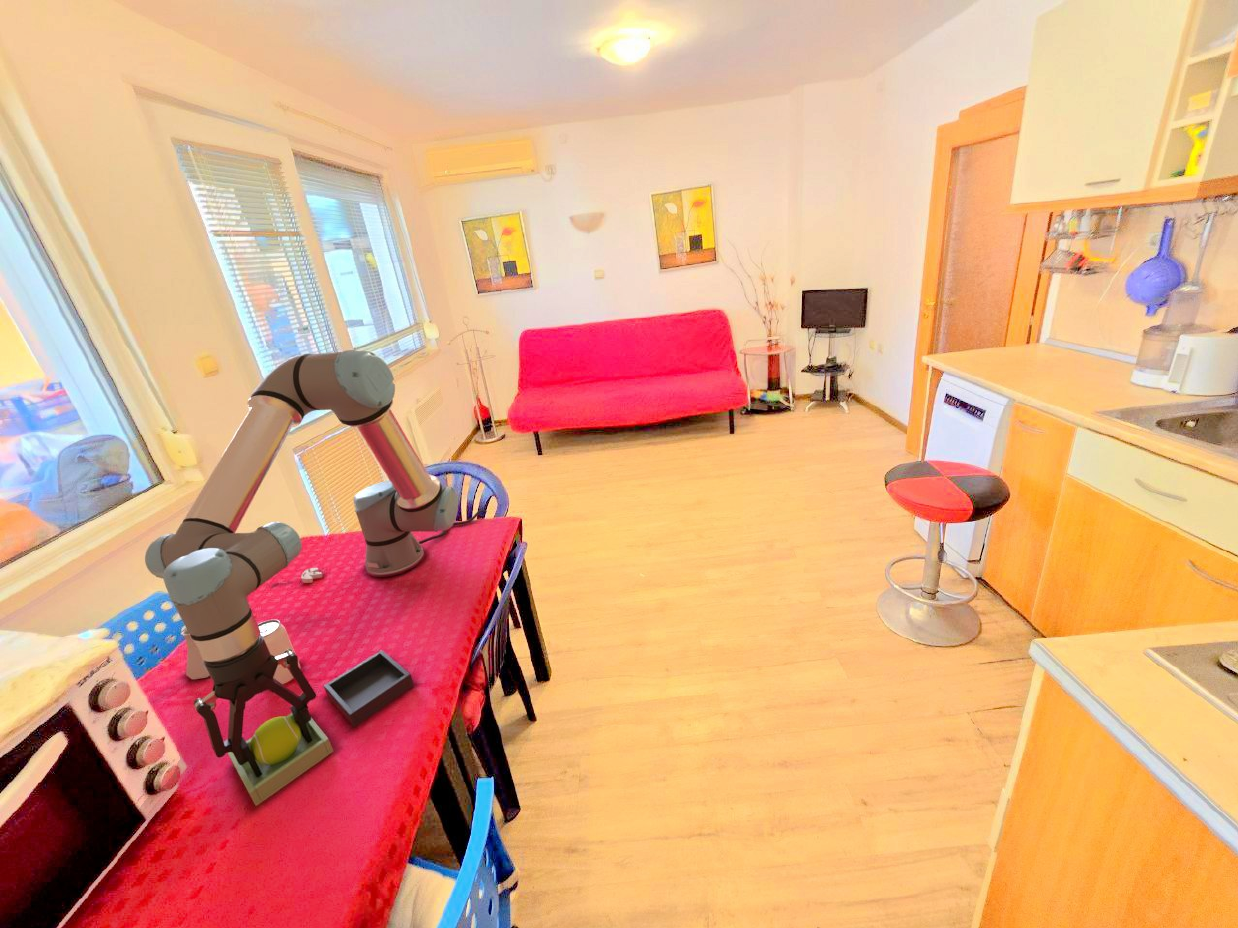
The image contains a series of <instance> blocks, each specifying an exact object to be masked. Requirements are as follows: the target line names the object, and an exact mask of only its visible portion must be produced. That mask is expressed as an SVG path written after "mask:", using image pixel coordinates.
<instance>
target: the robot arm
mask: <svg viewBox="0 0 1238 928" xmlns="http://www.w3.org/2000/svg"><path fill="white" fill-rule="evenodd" d="M394 380H395V379H394V375H393V373H392V370H391V368H390V366H389V364H387V362H386V361H385V360H384V359H383V358H382V357H381V356H379V355H378V354H376V353H374V352H372V351H368V350H355V349H348V350H342V351H334V352H319V353H301V354H297V355H294V356H292V357H289V358H288V359H286V360H284V361H282V362H281V363H279V364H278V365H277V366H276V367H275V368H274V369H272V370H271V371H270V372H269V373H267V375H266V376H265V377H263V379H262V380H261V382H260V383H259V384H257V386H256V388H255V389H254V391H253V392H252V394H251V395H250V397H249V398H248V400H247V407H248V409H249V410H248V412H247V414H246V415H245V417H244V419H243V420H242V422H241V424H240V426H239V427H238V428H237V430H236V432H235V433H234V436H233V437H232V438H231V441H230V442H229V443H228V445H227V447H226V449H225V450H224V451H223V454H222V455H221V457H220V459H219V460H218V462H217V464H216V465H215V467H214V468H213V471H212V472H211V473H210V475H209V477H208V479H207V480H206V482H205V484H204V485H203V487H202V488H201V490H200V492H199V493H198V495H197V497H196V498H195V500H194V501H193V503H192V505H191V507H190V508H189V510H188V512H187V513H186V514H185V516H184V518H183V520H182V522H181V524H180V525H179V527H178V528H177V529H176V531H175V532H173V533H169V534H164V535H161V536H159V537H158V538H156V539H155V540H153V541H152V542H151V543H150V544H149V545H148V547H147V549H146V552H145V556H144V563H145V566H146V568H147V570H148V572H150V574H151V575H153V576H155V577H156V578H159V579H163V583H164V586H165V588H166V591H167V593H168V597H169V600H170V602H171V604H173V606H174V607H175V610H176V611H177V614H178V615H179V617H180V619H181V621H182V622H183V624H184V627H185V629H187V630H188V632H189V634H190V636H191V638H192V641H193V643H194V645H195V647H196V649H197V651H198V653H199V655H200V657H201V659H203V660H204V665H205V667H206V669H207V671H208V673H209V675H210V676H209V677H210V679H211V681H212V683H213V686H212V691H211V692H210V693H208V694H207V695H205V696H204V697H203V698H202V697H198V698H196V699H195V700H194V701H193V702H192V703H193V706H194V708H195V710H196V713H197V714H198V715H200V716H201V717H202V718H203V722H204V725H205V729H206V732H207V734H208V738H209V742H210V745H211V748H212V750H213V752H214V754H215V756H216V757H217V758H223V757H224V756H225V755H226V754H228V753H229V752H232V753H233V754H234V756H235V758H236V760H237V762H238V764H240V765H243V764H244V763H246V762H249V764H250V766H251V768H252V770H253V772H254V773H255V775H256V777H257V778H258V777H259V776H261V775H262V773H261V771H260V769H259V767H258V765H257V762H256V760H255V758H254V756H253V754H252V752H251V750H250V748H249V746H248V745H247V743H246V741H247V740H246V739H245V738H244V736H243V728H244V715H245V714H244V713H245V710H246V702H248V701H250V700H251V699H253V698H254V697H255V696H256V695H259V694H261V693H264V692H265V691H267V690H268V691H270V693H274V694H275V695H277V696H278V697H280V698H281V699H283V700H284V701H285V702H287V703H288V704H290V705H292V706H290V707H289V709H290V712H291V713H292V714H293V716H294V718H295V721H296V722H297V723H298V724H299V726H300V729H301V734H302V736H303V737H304V739H305V740H306V741H307V743H309V742H311V741H312V738H311V735H310V733H309V731H308V728H307V726H306V723H307V722H309V721H310V720H311V718H312V716H311V713H310V711H309V706H308V704H309V702H310V701H314V700H315V699H316V698H317V694H316V692H315V690H314V689H313V687H312V686H311V683H310V682H309V680H308V679H307V678H306V676H305V674H304V673H303V671H302V669H301V668H299V667H298V661H299V657H298V655H297V654H295V653H296V652H295V653H294V652H293V651H292V650H291V649H288V650H286V651H285V652H284V654H283V655H280V656H277V657H274V656H273V655H271V654H270V652H269V650H268V647H267V645H266V643H265V641H264V638H263V636H262V635H261V634H260V633H261V632H260V629H259V627H258V624H259V623H258V622H257V620H256V618H255V615H254V613H253V612H252V611H253V610H252V608H251V605H250V603H249V600H248V596H249V595H251V594H252V593H254V592H255V591H256V590H257V589H259V588H260V587H261V586H263V585H264V584H265V583H267V582H268V581H269V580H270V579H272V578H273V577H274V576H276V575H277V574H278V573H281V572H282V571H283V570H284V569H287V567H288V566H289V565H290V563H292V562H293V561H294V560H295V559H296V558H297V557H298V556H300V554H301V551H302V548H303V547H302V546H303V544H302V541H301V537H300V535H299V533H298V531H296V530H295V529H294V528H293V527H292V526H291V525H289V524H287V523H285V522H281V521H272V522H268V523H266V524H265V525H263V526H258V527H257V529H256V530H254V531H251V532H237V530H238V528H239V527H240V525H241V523H242V521H243V519H244V518H245V516H246V514H247V512H248V510H249V508H250V506H251V504H252V502H253V501H254V499H255V497H256V495H257V493H258V492H259V490H260V488H261V486H262V484H263V482H264V480H265V479H266V476H267V474H268V473H269V471H270V469H271V467H272V465H273V463H274V461H275V459H276V457H277V456H278V454H279V452H280V450H281V449H282V446H283V444H284V443H285V441H286V439H287V438H288V435H289V434H290V431H291V429H292V428H295V427H298V426H300V425H301V423H302V422H303V419H304V417H305V416H307V415H308V414H309V413H311V412H314V411H329V410H330V411H332V412H333V413H334V415H335V416H336V418H337V419H338V421H339V422H340V424H342V425H344V426H346V427H351V428H353V429H354V431H355V433H356V434H357V435H358V437H359V438H360V440H361V441H362V442H363V444H364V446H365V447H366V449H367V451H368V452H369V453H370V455H371V456H372V458H373V459H374V461H375V462H376V463H377V465H378V466H379V468H380V470H381V471H382V472H383V474H384V476H385V478H387V480H385V481H381V482H377V483H375V484H372V485H369V486H367V487H365V488H363V489H361V490H360V491H359V492H357V493H356V494H355V495H354V498H353V504H354V505H353V506H354V509H355V510H354V512H355V513H356V517H357V520H358V523H359V526H360V529H361V532H362V534H363V538H364V542H365V545H366V547H365V557H364V558H365V559H364V560H365V561H364V567H365V570H366V573H367V574H368V575H369V576H371V577H375V578H389V577H393V576H394V577H395V576H397V575H400V574H403V573H406V572H408V571H410V570H412V569H414V568H415V567H417V566H418V565H419V564H420V563H421V562H422V561H423V560H424V557H425V551H424V549H423V546H422V544H425V543H427V542H429V541H432V540H436V539H439V538H441V537H443V536H444V535H445V534H446V532H447V531H448V530H450V529H451V528H452V527H453V526H460V525H461V526H462V525H467V524H469V523H471V522H472V521H474V520H475V519H476V518H477V517H478V515H480V514H481V513H484V514H486V513H487V512H488V511H487V510H485V509H480V510H478V511H477V512H476V513H475V514H474V515H473V516H472V517H471V518H469V519H467V520H464V521H457V522H456V519H457V516H458V511H459V496H458V493H457V491H456V488H454V487H453V486H448V485H447V486H443V485H442V483H441V481H440V480H439V478H438V477H437V476H435V475H434V474H430V473H428V472H427V469H426V468H425V466H424V464H423V463H422V461H421V458H419V456H418V454H417V452H416V450H415V449H414V447H413V446H412V444H411V442H410V440H409V438H408V437H407V435H406V433H405V431H404V430H403V428H402V426H401V424H400V423H399V421H398V419H397V417H396V416H395V414H394V413H393V411H392V407H393V403H394V400H393V399H394V397H395V394H396V384H395V383H394ZM413 532H415V533H416V532H419V533H420V532H421V533H422V532H424V533H425V532H426V533H427V532H431V533H433V532H434V533H437V532H441V533H439V534H437V535H433V536H430V537H427V538H424V539H422V540H420V541H419V540H418V539H417V538H416V536H415V535H414V533H413ZM279 664H281V665H282V666H283V667H284V668H288V670H289V671H290V673H291V674H292V676H293V678H294V679H293V680H294V681H295V682H296V684H297V685H298V687H299V689H300V690H301V691H302V693H301V694H300V695H299V694H297V693H295V692H294V691H293V690H291V689H290V688H289V687H287V686H286V685H285V684H281V683H280V682H278V681H277V680H276V679H274V678H273V677H274V674H275V671H276V669H277V666H278V665H279ZM218 699H222V700H226V701H228V703H229V712H228V714H229V715H228V727H227V738H226V739H225V740H224V738H223V736H222V732H221V728H220V725H219V721H218V718H217V715H216V713H215V712H214V711H215V710H216V708H217V700H218Z"/></svg>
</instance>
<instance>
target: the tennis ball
mask: <svg viewBox="0 0 1238 928" xmlns="http://www.w3.org/2000/svg"><path fill="white" fill-rule="evenodd" d="M286 716H287V715H286ZM286 716H283V715H281V716H280V715H279V716H275V717H272V718H270V719H268V720H266V721H264V722H263V723H262V724H260V725H259V727H257V729H256V730H255V731H254V732H253V735H252V736H251V738H252V739H251V743H250V750H251V752H252V754H253V756H254V758H255V760H257V761H258V762H260V763H262V764H267V765H271V764H276V763H279V762H282V761H284V760H285V759H287V758H288V757H290V756H291V755H292V754H293V753H294V751H295V750H296V749H297V747H298V745H299V743H300V740H301V729H300V726H299V724H298V723H297V722H296V721H295V720H294V719H292V718H290V717H286Z"/></svg>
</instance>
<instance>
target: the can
mask: <svg viewBox="0 0 1238 928" xmlns="http://www.w3.org/2000/svg"><path fill="white" fill-rule="evenodd" d="M257 624H258V627H259V629H260V632H261V633H260V634H261V635H262V636H263V638H264V641H265V643H266V645H267V647H268V650H269V652H270V654H271V655H273V656H274V657H277V656H280V655H283V654H284V652H285V651H286V650H288V649H291V650H292V651H293V652H294V653H295V654H296V651H295V649H294V647H293V644H292V641H291V638H290V636H289V634H288V632H287V629H286V627H285V626H284V625H283V624H282V623H281V621H280V620H278V619H268V620H264V621H262V622H260V623H257ZM296 655H297V654H296ZM298 667H299V668H300V669H302V667H301V664H300V661H299V660H298ZM273 678H274V679H276V680H277V681H278V682H280V683H281V684H283V685H286V684H288V683H289V682H292V680H295V679H294V678H293V676H292V674H291V673H290V671H289V670H288V668H284V667H283V666H282V665H281V664H279V665H278V666H277V669H276V671H275V674H274V677H273Z"/></svg>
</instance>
